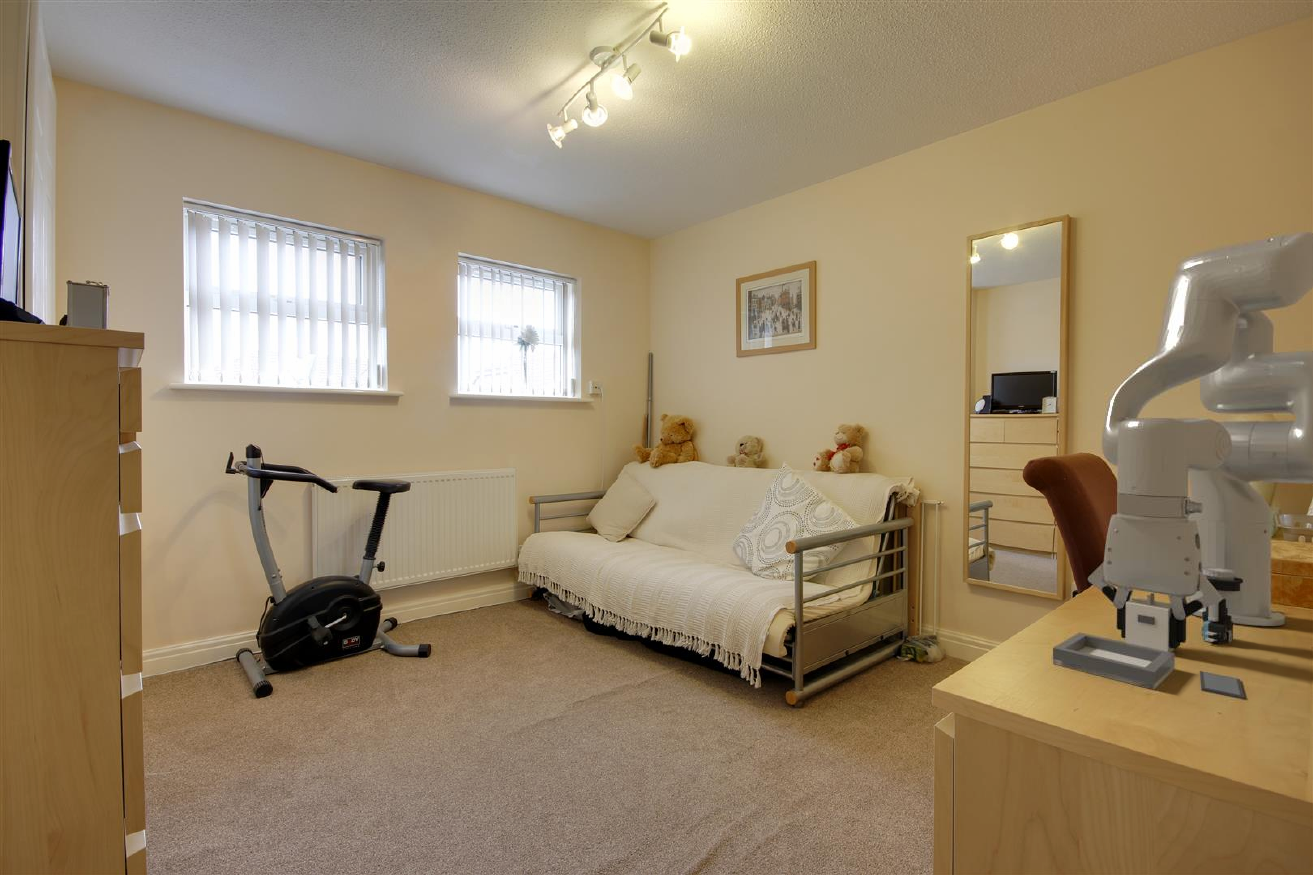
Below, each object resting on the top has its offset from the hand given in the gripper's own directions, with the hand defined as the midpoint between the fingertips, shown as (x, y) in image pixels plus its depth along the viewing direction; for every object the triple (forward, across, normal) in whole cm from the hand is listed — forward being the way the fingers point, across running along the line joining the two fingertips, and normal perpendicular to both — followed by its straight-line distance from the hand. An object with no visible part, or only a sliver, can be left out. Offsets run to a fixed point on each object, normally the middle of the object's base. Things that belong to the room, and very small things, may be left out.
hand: (1150, 639), depth 82 cm
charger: (+1, 0, 0) cm, 1 cm away
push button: (+1, -5, -11) cm, 12 cm away
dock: (+1, +1, +13) cm, 13 cm away
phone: (+2, -8, +10) cm, 13 cm away
